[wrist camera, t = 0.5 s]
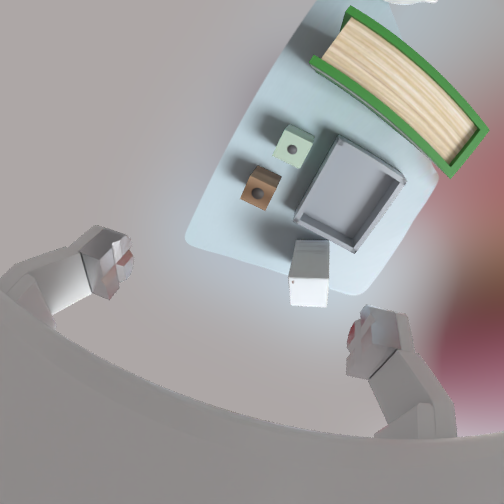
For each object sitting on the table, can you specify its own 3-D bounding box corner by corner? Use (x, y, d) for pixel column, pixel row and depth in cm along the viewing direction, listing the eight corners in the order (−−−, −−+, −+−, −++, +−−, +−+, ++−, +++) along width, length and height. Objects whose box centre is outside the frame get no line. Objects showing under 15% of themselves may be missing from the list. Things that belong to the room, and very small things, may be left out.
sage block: (289, 124, 45) (284, 129, 41) (314, 136, 46) (313, 143, 41) (278, 147, 49) (272, 155, 44) (302, 159, 49) (299, 169, 44)
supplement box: (296, 266, 63) (288, 306, 53) (295, 238, 59) (287, 276, 49) (329, 267, 61) (327, 308, 51) (330, 239, 57) (329, 278, 47)
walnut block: (258, 165, 52) (249, 175, 47) (281, 176, 52) (276, 188, 47) (248, 186, 55) (239, 198, 50) (271, 197, 55) (265, 211, 50)
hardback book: (316, 72, 39) (308, 62, 20) (338, 40, 34) (350, 5, 15) (398, 133, 41) (450, 179, 22) (420, 103, 36) (489, 130, 17)
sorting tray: (338, 134, 44) (339, 138, 41) (402, 173, 45) (407, 180, 41) (294, 211, 55) (292, 221, 52) (353, 242, 56) (354, 253, 53)
